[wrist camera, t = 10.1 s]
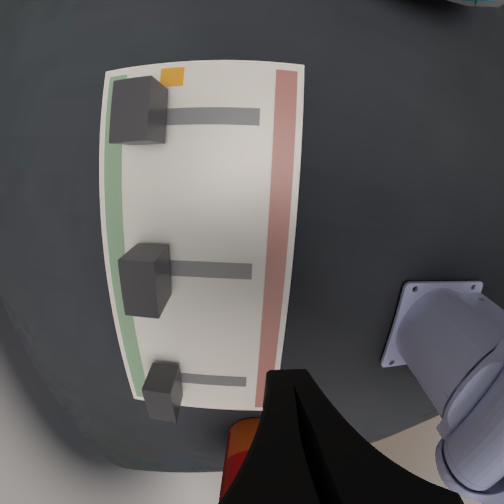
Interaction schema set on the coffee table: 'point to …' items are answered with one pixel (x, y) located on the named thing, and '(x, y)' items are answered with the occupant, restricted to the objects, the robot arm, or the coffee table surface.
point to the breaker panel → (209, 224)
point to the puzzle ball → (480, 2)
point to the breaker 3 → (163, 392)
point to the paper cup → (237, 449)
